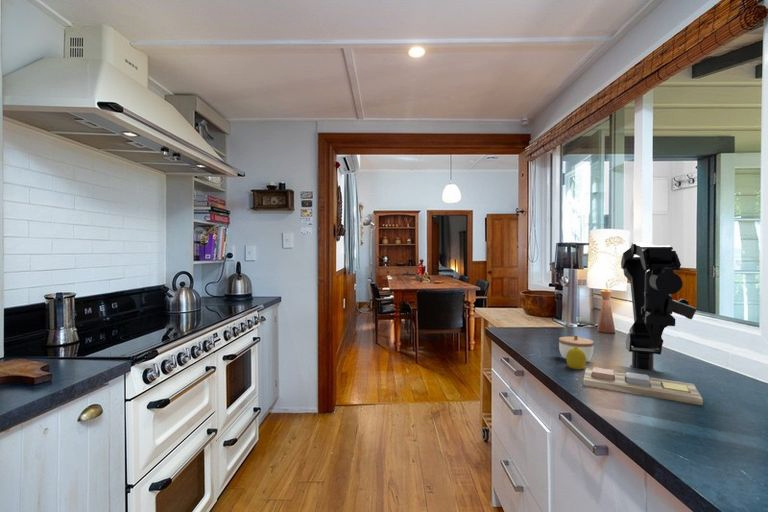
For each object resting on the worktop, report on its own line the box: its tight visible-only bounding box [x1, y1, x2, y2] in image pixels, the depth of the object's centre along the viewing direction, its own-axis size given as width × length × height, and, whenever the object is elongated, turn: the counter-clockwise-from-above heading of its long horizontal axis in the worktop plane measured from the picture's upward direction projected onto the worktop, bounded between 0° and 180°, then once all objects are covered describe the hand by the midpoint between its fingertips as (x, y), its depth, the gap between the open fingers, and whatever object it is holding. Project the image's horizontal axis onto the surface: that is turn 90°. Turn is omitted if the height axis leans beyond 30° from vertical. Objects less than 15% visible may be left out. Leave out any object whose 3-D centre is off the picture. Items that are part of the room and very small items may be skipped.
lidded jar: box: [558, 334, 595, 362], centre depth 127 cm, size 11×11×9 cm
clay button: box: [592, 366, 615, 381], centre depth 103 cm, size 5×5×3 cm
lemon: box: [565, 347, 587, 370], centre depth 116 cm, size 6×6×8 cm
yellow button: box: [662, 382, 689, 393], centre depth 95 cm, size 5×5×3 cm
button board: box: [582, 367, 704, 406], centre depth 99 cm, size 12×25×3 cm, turn 58°
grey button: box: [625, 371, 650, 387], centre depth 99 cm, size 5×5×3 cm
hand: (656, 344), depth 104 cm, fingers closed
